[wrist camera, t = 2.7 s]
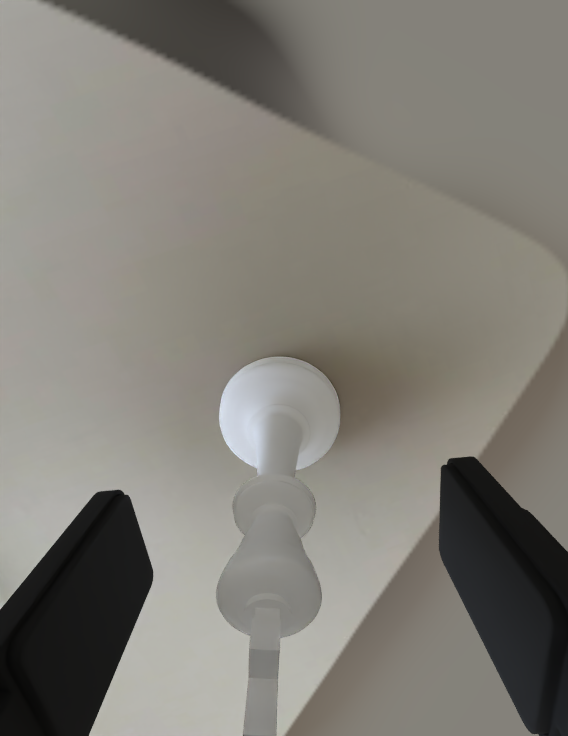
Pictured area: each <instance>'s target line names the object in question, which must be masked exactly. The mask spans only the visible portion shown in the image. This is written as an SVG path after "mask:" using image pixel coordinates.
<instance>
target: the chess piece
mask: <svg viewBox="0 0 568 736" xmlns="http://www.w3.org/2000/svg"><path fill="white" fill-rule="evenodd" d="M219 423H220V429H221V432H222V435H223V437H224V440H225V441H226V443H227V445H228V446H229V448H230V449H231V450H232V451H233V453H234V454H235V455H236V456H237V457H239V458H240V459H241V460H242V461H244V462H245V463H247V464H249V465H251V466H253V467H255V468H257V476H255V477H253V478H251V479H249V480H248V481H246V482H245V483H244V484H243V485H242V486H241V487H240V488H239V489H238V491H237V492H236V494H235V497H234V500H233V513H234V518H235V522H236V524H237V526H238V528H239V530H240V531H241V532H242V533H243V534H244V535H245V536H244V538H243V540H242V542H241V544H240V546H239V548H238V549H237V551H236V552H235V554H234V555H233V556H232V557H231V559H230V560H229V562H228V564H227V565H226V567H225V569H224V571H223V572H222V574H221V577H220V579H219V582H218V585H217V591H216V599H217V604H218V607H219V610H220V612H221V613H222V615H223V617H224V618H225V619H226V620H227V621H228V622H229V623H230V624H231V625H232V626H233V627H234V628H236V629H237V630H239V631H241V632H243V633H245V634H247V635H250V646H249V679H248V689H247V700H246V710H245V720H244V730H243V736H276V727H277V692H278V669H279V653H280V638H283V637H287V636H290V635H293V634H295V633H297V632H299V631H301V630H302V629H304V628H305V627H306V626H308V625H309V624H310V623H311V622H312V621H313V619H314V618H315V617H316V615H317V613H318V611H319V609H320V606H321V600H322V593H321V587H320V583H319V580H318V577H317V574H316V572H315V570H314V567H313V565H312V563H311V561H310V560H309V558H308V557H307V555H306V553H305V550H304V548H303V545H302V542H301V538H302V537H303V536H304V535H305V534H306V533H307V532H308V531H309V529H310V528H311V526H312V523H313V520H314V517H315V513H316V503H315V499H314V497H313V494H312V493H311V491H310V490H309V488H308V487H307V486H306V485H305V484H304V483H302V482H301V481H300V480H298V479H296V478H295V472H296V470H300V469H303V468H305V467H308V466H310V465H312V464H313V463H315V462H316V461H318V460H319V459H320V458H322V457H323V456H324V455H325V454H326V453H327V452H328V450H329V449H330V448H331V446H332V445H333V443H334V441H335V439H336V437H337V434H338V431H339V426H340V404H339V399H338V396H337V393H336V391H335V389H334V387H333V385H332V383H331V382H330V381H329V379H328V378H327V377H326V376H325V375H324V374H323V373H322V372H321V371H320V370H318V369H317V368H316V367H314V366H312V365H311V364H309V363H307V362H305V361H302V360H299V359H295V358H291V357H281V356H278V357H268V358H263V359H260V360H257V361H254V362H252V363H250V364H248V365H246V366H245V367H243V368H242V369H241V370H239V371H238V372H237V373H236V374H235V375H234V376H233V377H232V378H231V380H230V381H229V382H228V384H227V386H226V387H225V390H224V392H223V395H222V398H221V402H220V410H219Z"/></svg>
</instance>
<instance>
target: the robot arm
mask: <svg viewBox="0 0 568 736" xmlns="http://www.w3.org/2000/svg"><path fill="white" fill-rule="evenodd" d="M439 551H440V555H441V558H442V561H443V563H444V565H445V567H446V569H447V571H448V573H449V575H450V577H451V579H452V581H453V583H454V585H455V587H456V589H457V591H458V593H459V595H460V597H461V599H462V601H463V603H464V605H465V607H466V609H467V611H468V613H469V615H470V617H471V619H472V621H473V623H474V625H475V627H476V629H477V631H478V633H479V635H480V637H481V639H482V641H483V643H484V645H485V647H486V649H487V651H488V653H489V655H490V657H491V659H492V661H493V663H494V665H495V667H496V669H497V671H498V673H499V675H500V677H501V679H502V681H503V683H504V685H505V687H506V689H507V691H508V693H509V695H510V697H511V699H512V701H513V703H514V705H515V707H516V709H517V711H518V713H519V715H520V717H521V719H522V721H523V723H524V724H525V726H526V728H527V729H528V730H529V731H530V732H531V733H532V734H539V736H568V552H567V551H566V550H565V549H564V548H563V547H562V546H561V545H560V544H559V542H557V540H556V539H555V538H554V537H553V536H552V535H551V534H550V533H549V532H548V531H547V530H546V529H545V527H543V525H542V524H541V523H540V522H539V521H538V520H537V519H536V518H535V517H534V516H533V515H532V514H531V513H530V512H528V511H527V510H525V509H523V508H521V507H520V506H519V505H518V504H517V503H516V501H515V500H514V499H513V498H512V497H511V496H510V495H509V494H508V493H507V492H506V490H505V489H504V488H503V487H502V486H501V485H500V484H499V483H498V482H497V481H496V480H495V479H494V477H493V476H492V475H491V474H490V473H489V472H488V471H487V470H486V469H485V468H484V467H483V466H482V464H481V463H480V462H479V461H478V460H477V459H476V458H475V457H461V458H450V459H449V460H448V462H447V465H443V466H442V467H441V487H440V525H439ZM152 581H153V569H152V565H151V562H150V559H149V556H148V553H147V550H146V546H145V543H144V540H143V537H142V534H141V531H140V528H139V524H138V521H137V518H136V515H135V512H134V509H133V505H132V502H131V499H130V497H129V496H128V495H124V493H123V492H122V491H121V490H112V491H101V492H97V493H96V494H95V495H94V496H93V497H92V498H91V499H90V501H89V502H88V503H87V504H86V505H85V507H84V508H83V509H82V510H81V512H80V513H79V514H78V515H77V516H76V518H75V519H74V520H73V521H72V523H71V524H70V525H69V526H68V528H67V529H66V530H65V531H64V532H63V534H62V535H61V536H60V537H59V539H58V540H57V541H56V542H55V543H54V545H53V546H52V547H51V548H50V550H49V551H48V552H47V553H46V554H45V556H44V557H43V558H42V559H41V561H40V562H39V563H38V564H37V566H36V567H35V568H34V569H33V570H32V572H31V573H30V574H29V575H28V577H27V578H26V579H25V580H24V581H23V583H22V584H21V585H20V586H19V588H18V589H17V590H16V591H15V592H14V594H13V595H12V596H11V597H10V599H9V600H8V601H7V602H6V603H5V605H4V606H3V607H2V608H1V610H0V736H89V733H90V731H91V729H92V726H93V724H94V721H95V719H96V717H97V714H98V712H99V709H100V707H101V705H102V702H103V700H104V698H105V695H106V693H107V690H108V688H109V686H110V683H111V681H112V678H113V676H114V674H115V671H116V669H117V666H118V664H119V662H120V659H121V657H122V654H123V652H124V650H125V647H126V645H127V643H128V640H129V638H130V635H131V633H132V631H133V628H134V626H135V623H136V621H137V619H138V616H139V614H140V611H141V609H142V607H143V604H144V602H145V600H146V597H147V595H148V592H149V590H150V588H151V585H152Z"/></svg>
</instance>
